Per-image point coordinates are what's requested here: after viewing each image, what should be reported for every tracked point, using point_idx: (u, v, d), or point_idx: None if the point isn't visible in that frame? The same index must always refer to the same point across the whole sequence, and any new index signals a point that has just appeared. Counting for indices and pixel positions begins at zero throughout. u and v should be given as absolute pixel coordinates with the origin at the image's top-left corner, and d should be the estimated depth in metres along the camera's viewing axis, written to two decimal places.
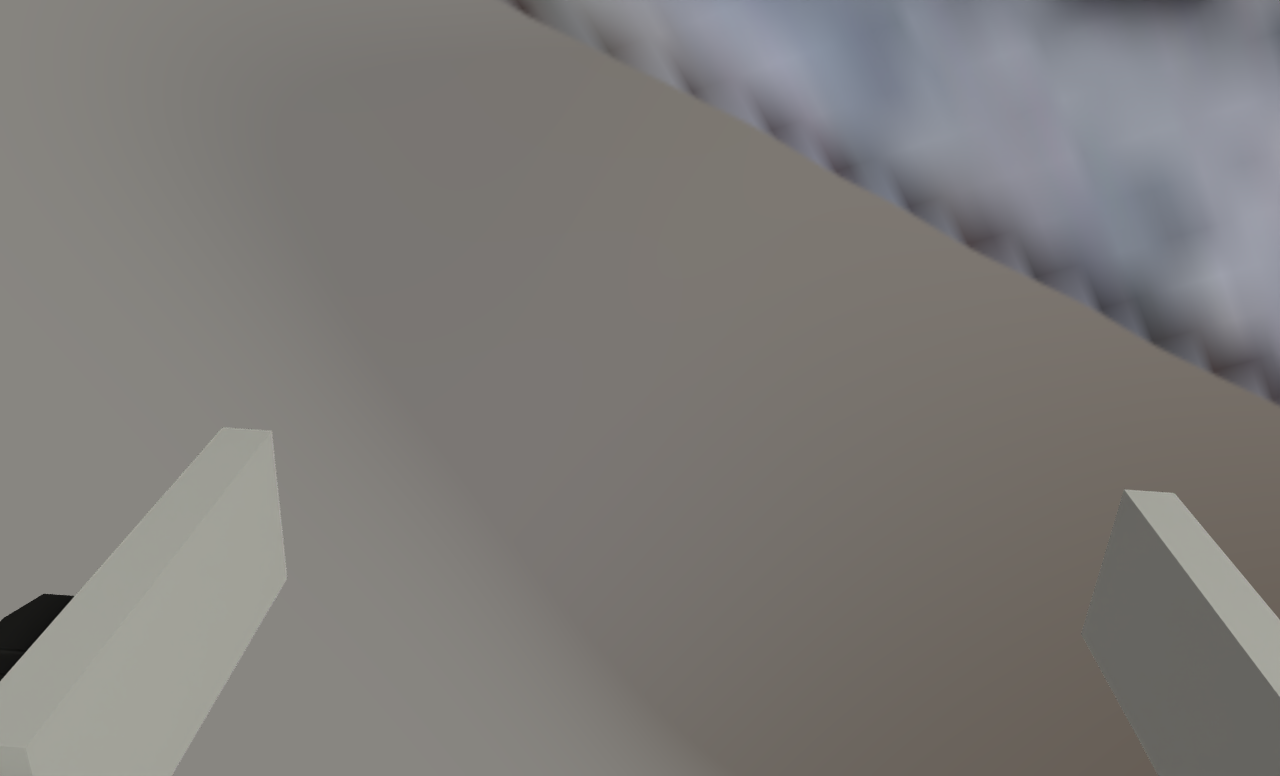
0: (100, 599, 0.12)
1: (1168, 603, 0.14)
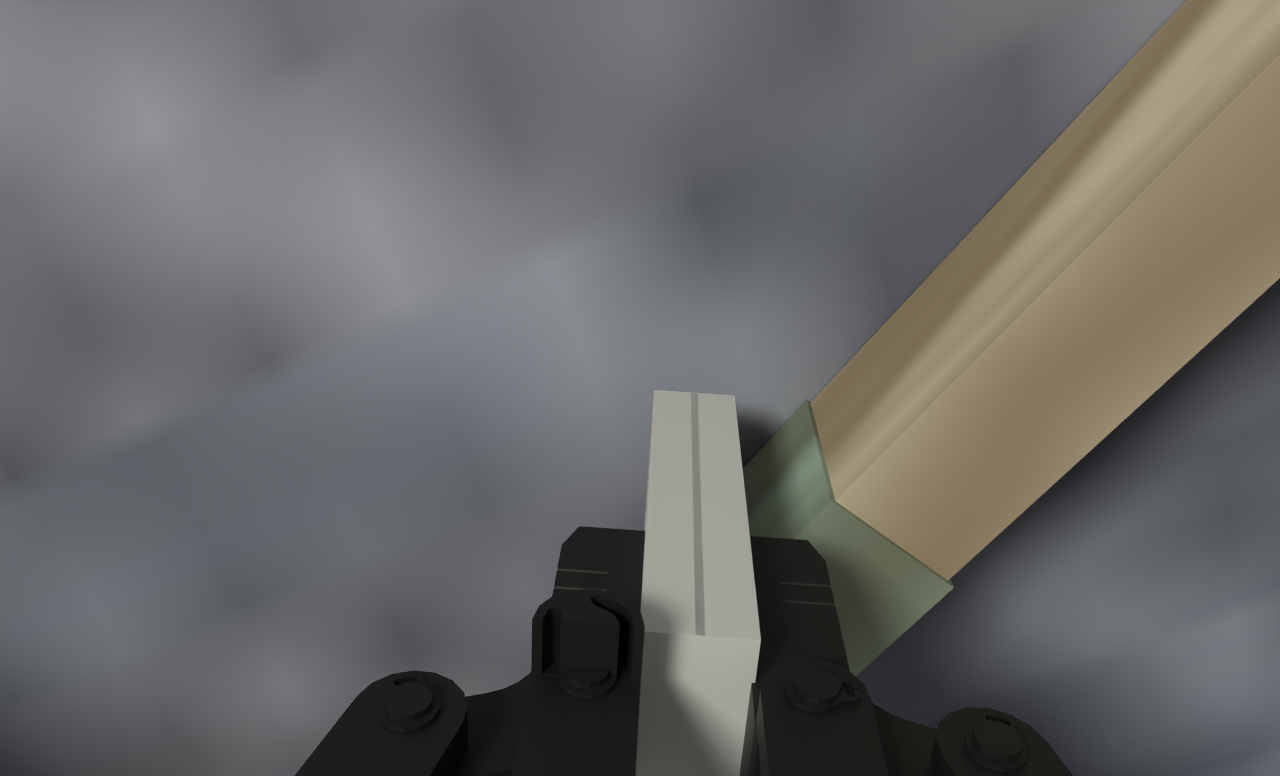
0: (668, 526, 0.14)
1: None
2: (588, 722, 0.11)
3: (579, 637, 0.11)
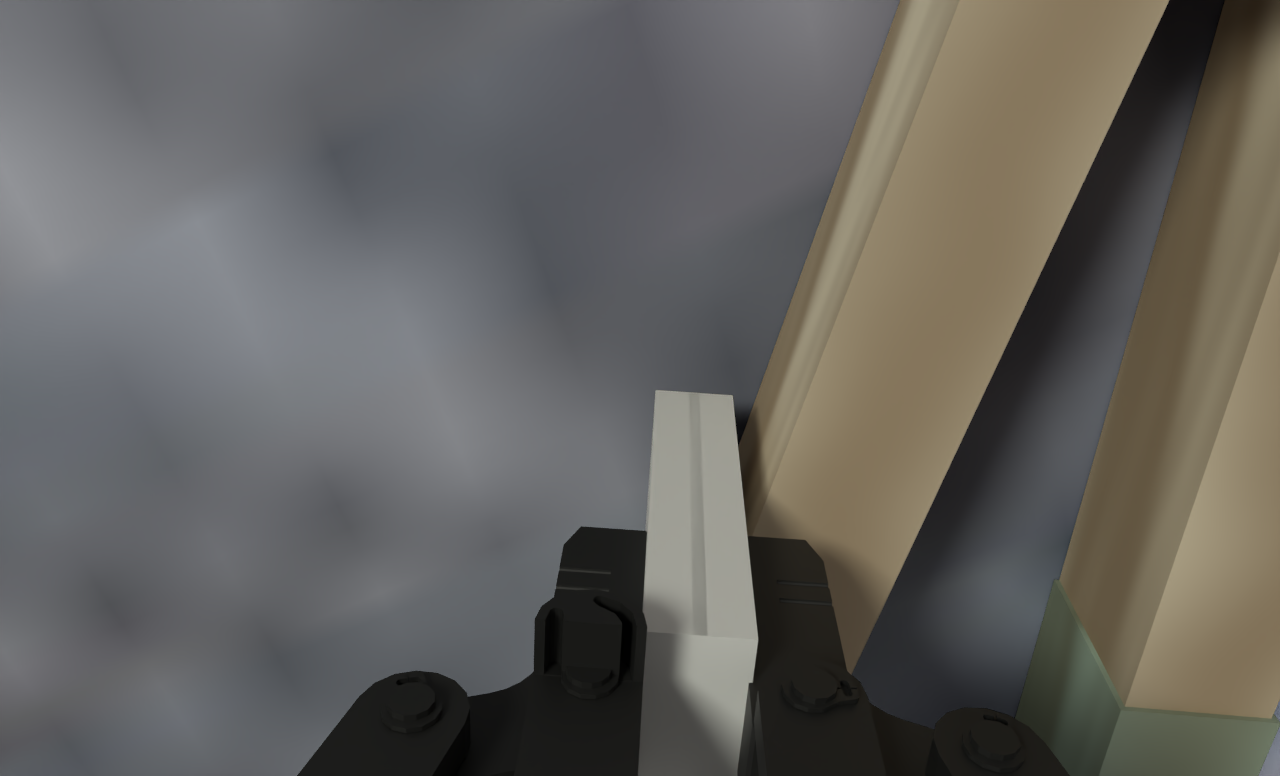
0: (670, 526, 0.14)
1: None
2: (590, 722, 0.11)
3: (581, 637, 0.11)
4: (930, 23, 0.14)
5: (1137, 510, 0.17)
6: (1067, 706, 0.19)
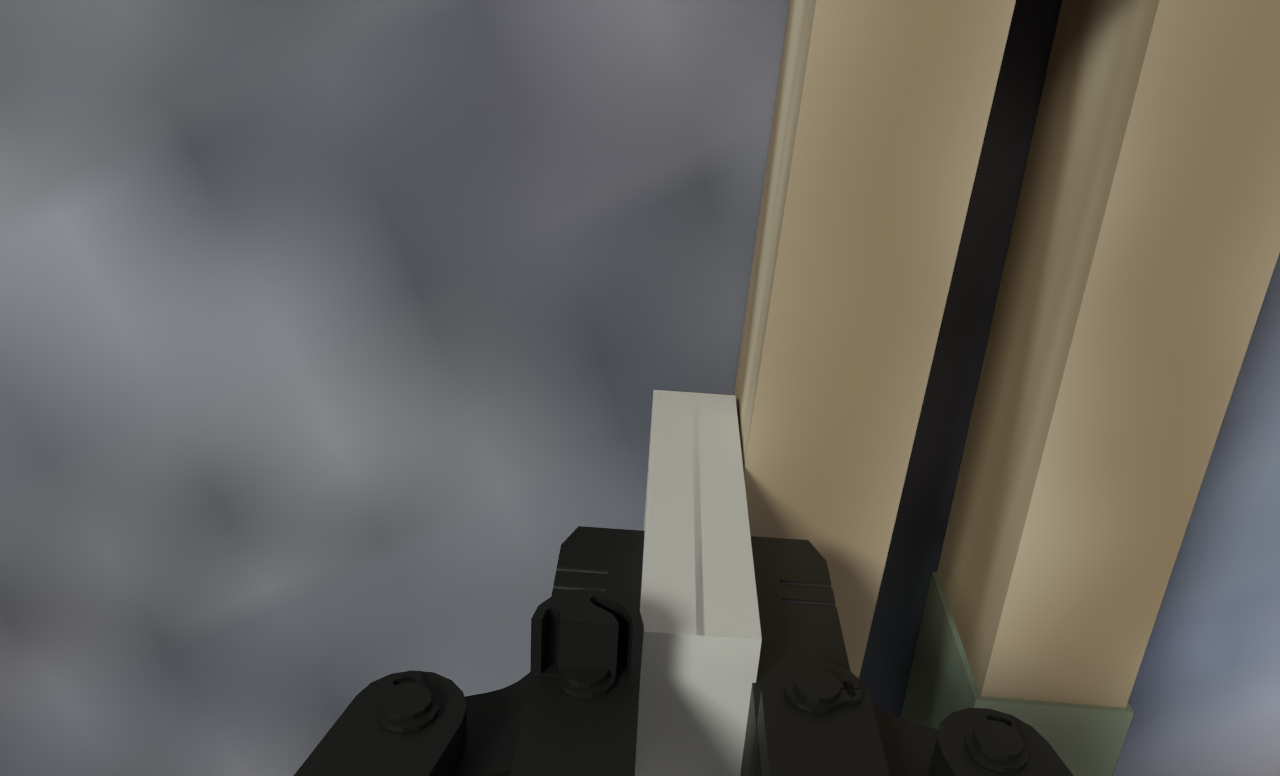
0: (668, 525, 0.14)
1: None
2: (587, 722, 0.11)
3: (578, 637, 0.11)
4: (796, 70, 0.14)
5: (993, 500, 0.17)
6: (938, 697, 0.19)
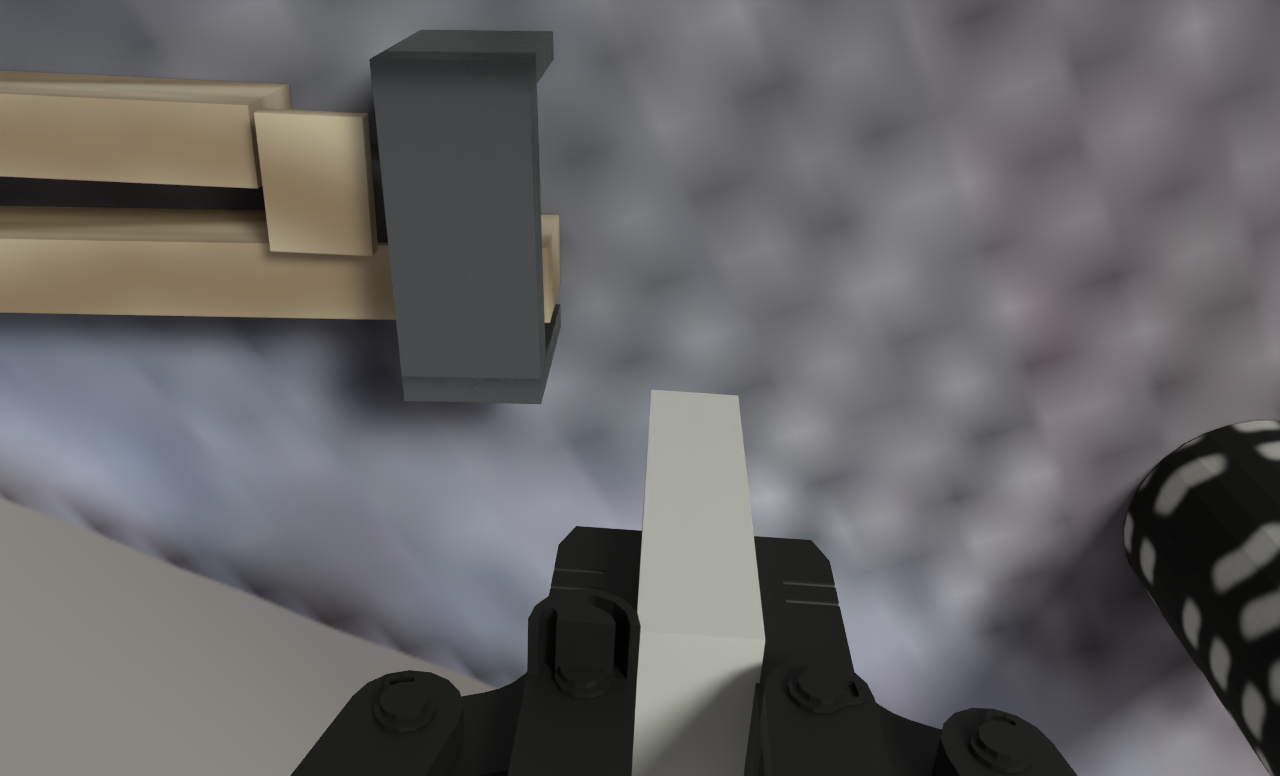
0: (665, 525, 0.14)
1: None
2: (584, 722, 0.11)
3: (575, 637, 0.11)
4: (194, 95, 0.30)
5: (11, 224, 0.33)
6: None
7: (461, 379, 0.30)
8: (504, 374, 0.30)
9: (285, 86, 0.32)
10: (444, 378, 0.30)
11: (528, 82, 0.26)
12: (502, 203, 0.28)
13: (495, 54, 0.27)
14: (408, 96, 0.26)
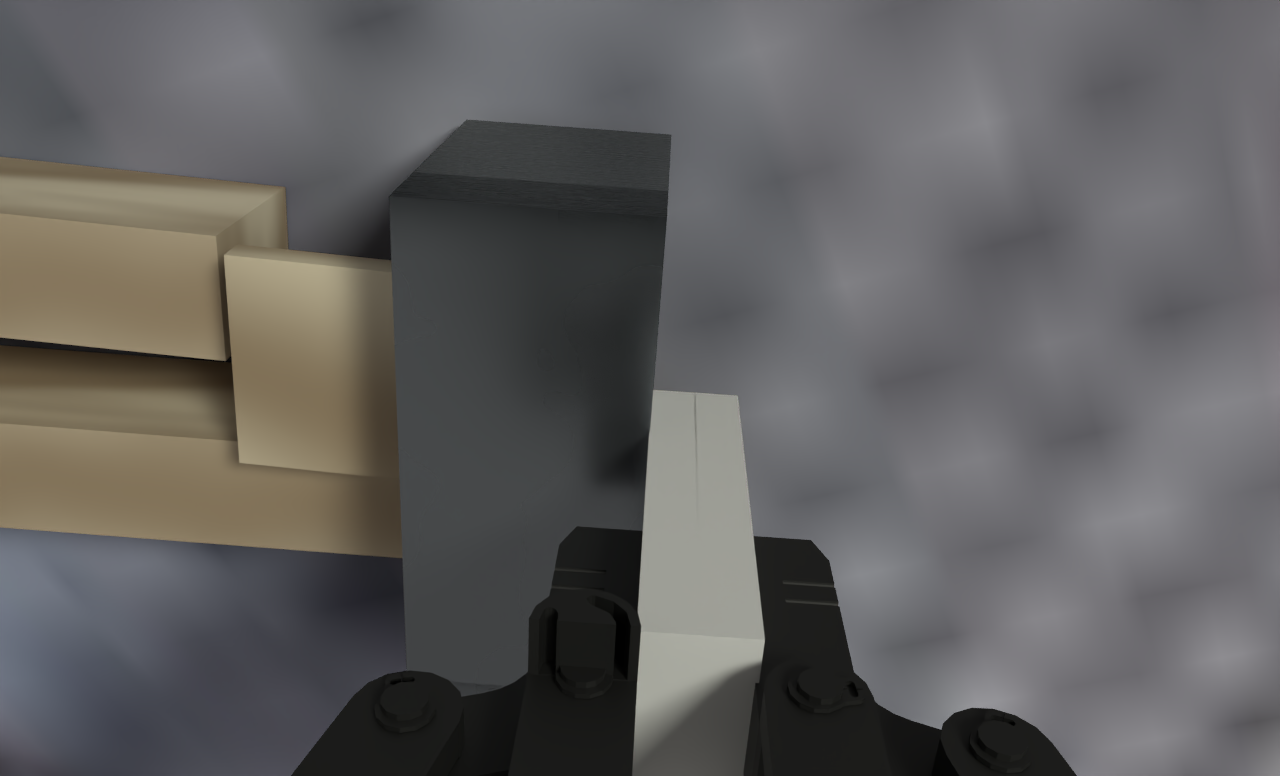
0: (666, 526, 0.14)
1: None
2: (584, 721, 0.11)
3: (575, 637, 0.11)
4: (132, 209, 0.19)
5: None
6: None
7: None
8: None
9: (279, 191, 0.21)
10: (475, 685, 0.19)
11: (662, 251, 0.15)
12: (596, 438, 0.16)
13: (602, 193, 0.16)
14: (451, 261, 0.15)
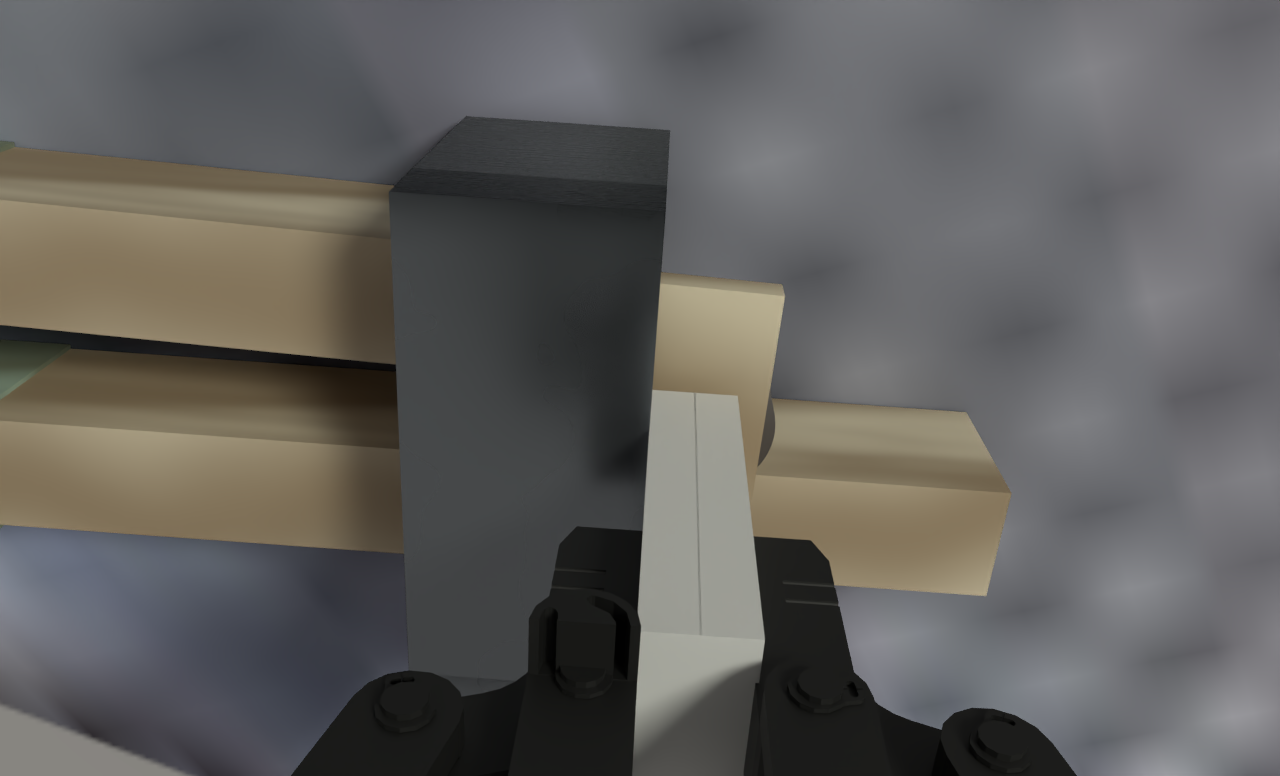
0: (666, 525, 0.14)
1: None
2: (584, 722, 0.11)
3: (575, 637, 0.11)
4: None
5: (158, 396, 0.21)
6: None
7: (504, 682, 0.19)
8: None
9: None
10: (476, 680, 0.19)
11: (661, 245, 0.15)
12: (596, 431, 0.17)
13: (601, 187, 0.16)
14: (451, 256, 0.15)
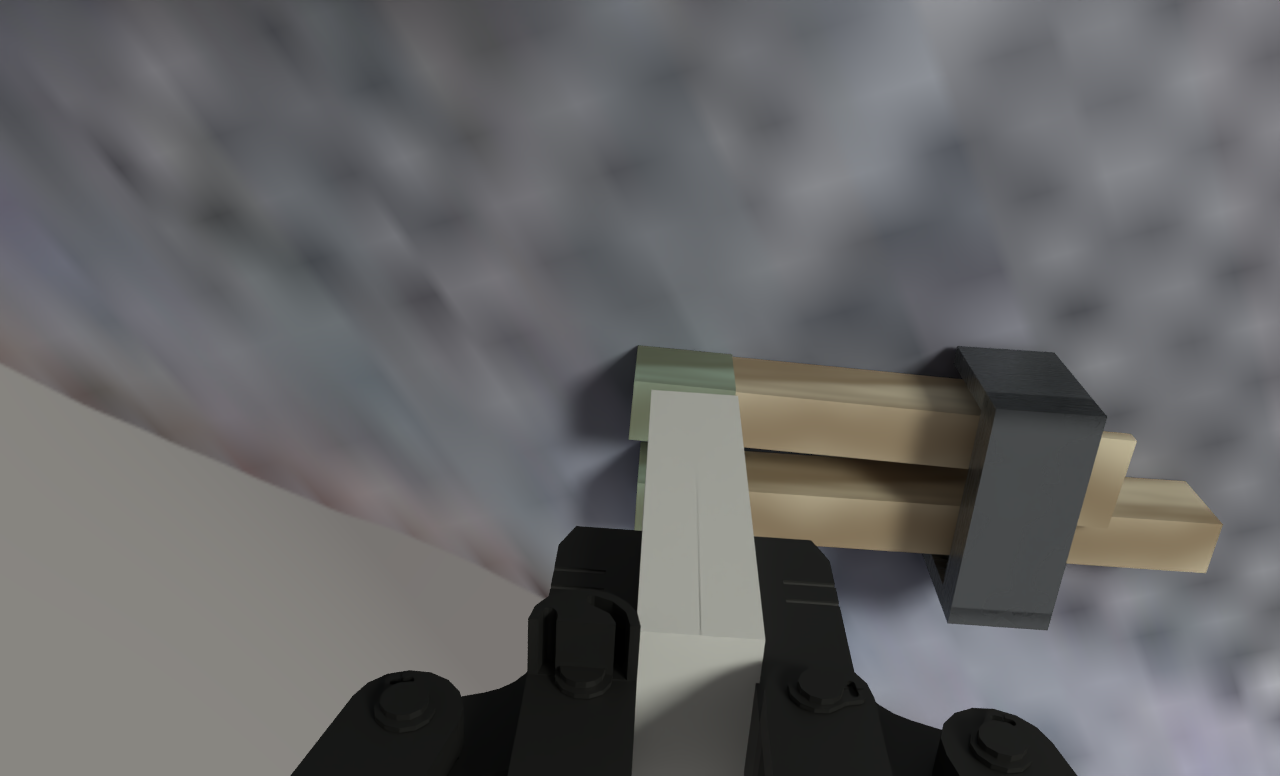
0: (665, 525, 0.14)
1: None
2: (584, 722, 0.11)
3: (575, 637, 0.11)
4: None
5: (801, 477, 0.44)
6: None
7: (994, 611, 0.41)
8: (1026, 609, 0.41)
9: None
10: (981, 610, 0.41)
11: (1103, 429, 0.38)
12: (1060, 501, 0.39)
13: (1069, 401, 0.39)
14: (1015, 432, 0.38)
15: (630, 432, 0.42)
